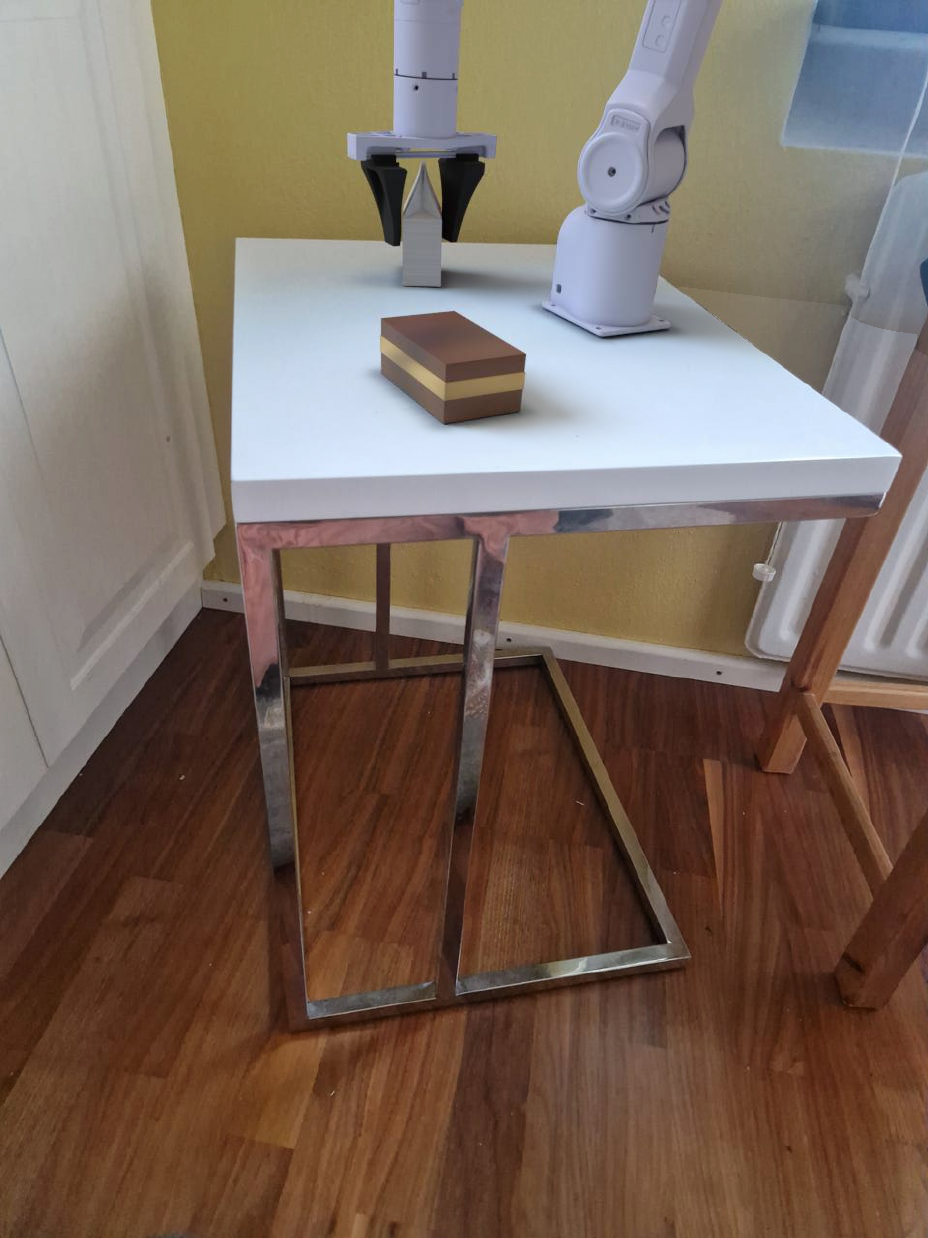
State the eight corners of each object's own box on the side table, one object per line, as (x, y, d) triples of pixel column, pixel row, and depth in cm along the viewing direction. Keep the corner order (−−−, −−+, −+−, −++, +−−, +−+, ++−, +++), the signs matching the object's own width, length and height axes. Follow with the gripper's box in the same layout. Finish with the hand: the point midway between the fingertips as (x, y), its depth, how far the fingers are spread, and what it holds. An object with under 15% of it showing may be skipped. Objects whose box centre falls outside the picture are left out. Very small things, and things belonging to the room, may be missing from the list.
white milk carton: (402, 285, 80) (402, 169, 75) (404, 268, 86) (403, 159, 80) (440, 286, 81) (442, 171, 75) (439, 269, 86) (441, 160, 80)
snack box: (379, 372, 61) (379, 317, 59) (452, 363, 64) (454, 310, 61) (443, 424, 54) (446, 364, 52) (521, 411, 57) (527, 353, 54)
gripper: (473, 74, 79) (465, 229, 87) (331, 70, 72) (336, 236, 80) (513, 82, 74) (500, 244, 82) (365, 77, 68) (366, 253, 76)
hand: (421, 241), depth 81 cm, fingers closed on white milk carton, 6 cm apart
